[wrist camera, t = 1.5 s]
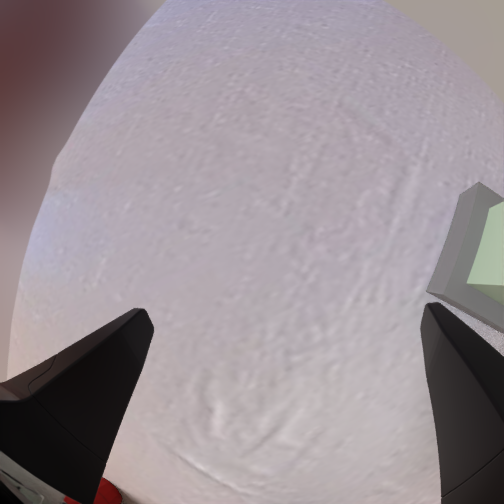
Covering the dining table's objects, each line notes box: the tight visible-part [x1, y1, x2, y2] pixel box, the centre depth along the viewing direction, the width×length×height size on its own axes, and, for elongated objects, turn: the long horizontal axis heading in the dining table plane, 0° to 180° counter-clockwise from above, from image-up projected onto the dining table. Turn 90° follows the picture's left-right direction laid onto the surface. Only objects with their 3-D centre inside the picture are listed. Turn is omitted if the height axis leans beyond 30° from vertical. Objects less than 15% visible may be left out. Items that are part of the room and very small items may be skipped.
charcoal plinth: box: [426, 182, 504, 333], centre depth 17 cm, size 9×9×4 cm
